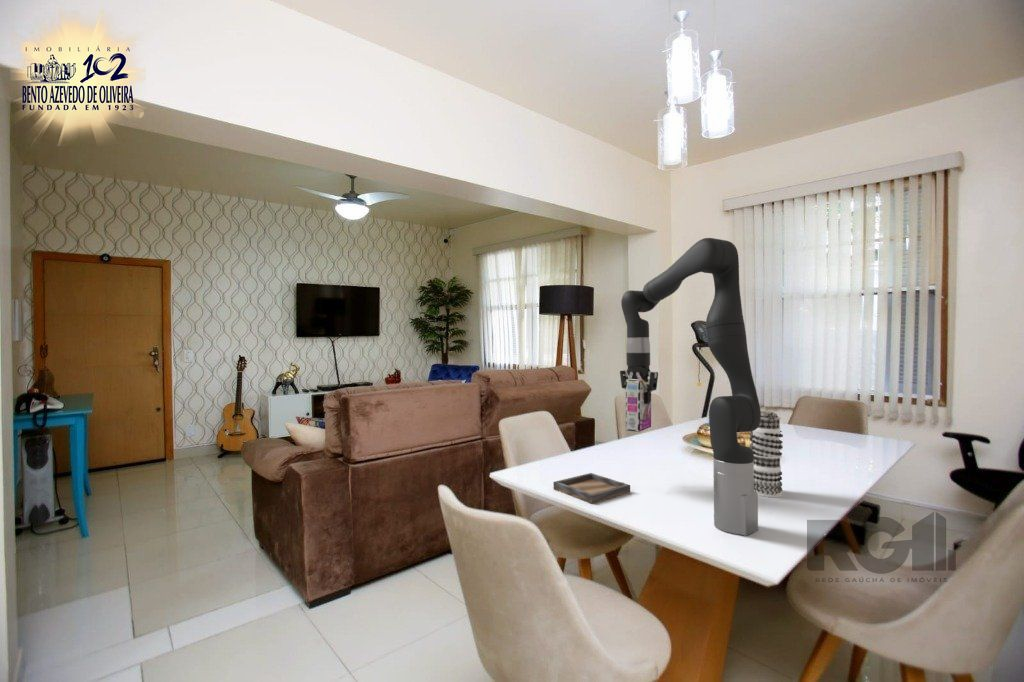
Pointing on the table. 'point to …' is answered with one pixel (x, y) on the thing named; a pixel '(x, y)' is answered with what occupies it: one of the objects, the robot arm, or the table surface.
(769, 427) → the decorative candle
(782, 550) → the table surface
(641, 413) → the candy bar box
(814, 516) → the table surface
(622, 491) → the wooden tray
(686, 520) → the table surface
